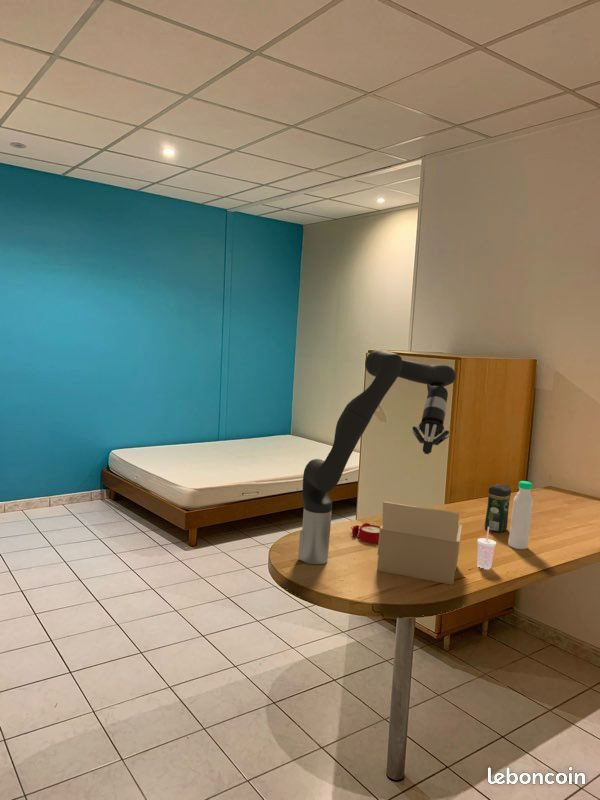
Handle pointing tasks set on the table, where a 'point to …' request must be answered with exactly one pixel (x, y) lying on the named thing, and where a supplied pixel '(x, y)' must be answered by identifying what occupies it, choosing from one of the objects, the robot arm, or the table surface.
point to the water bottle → (521, 517)
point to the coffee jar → (498, 507)
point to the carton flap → (420, 521)
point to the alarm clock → (367, 533)
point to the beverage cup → (485, 552)
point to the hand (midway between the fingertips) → (426, 452)
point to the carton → (418, 556)
